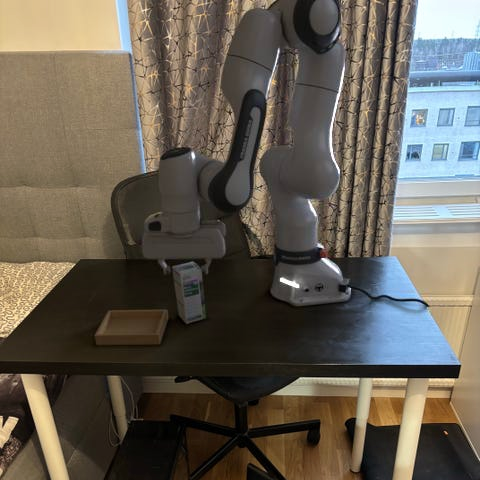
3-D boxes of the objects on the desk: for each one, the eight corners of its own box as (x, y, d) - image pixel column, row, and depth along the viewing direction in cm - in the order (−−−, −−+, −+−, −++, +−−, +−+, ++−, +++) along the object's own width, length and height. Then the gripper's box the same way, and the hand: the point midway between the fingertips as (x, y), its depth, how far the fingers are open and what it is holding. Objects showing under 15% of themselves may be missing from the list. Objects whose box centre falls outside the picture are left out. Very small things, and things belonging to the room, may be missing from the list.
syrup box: (186, 324, 127) (180, 273, 120) (177, 315, 132) (171, 265, 125) (206, 318, 130) (201, 267, 122) (197, 309, 134) (192, 260, 127)
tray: (168, 318, 131) (167, 309, 129) (159, 344, 120) (158, 334, 118) (110, 319, 131) (108, 310, 130) (96, 345, 120) (94, 335, 119)
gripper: (226, 215, 120) (228, 268, 127) (142, 216, 121) (148, 268, 128) (224, 223, 114) (226, 278, 121) (136, 224, 115) (143, 279, 122)
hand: (186, 273), depth 124 cm, fingers open, 8 cm apart
